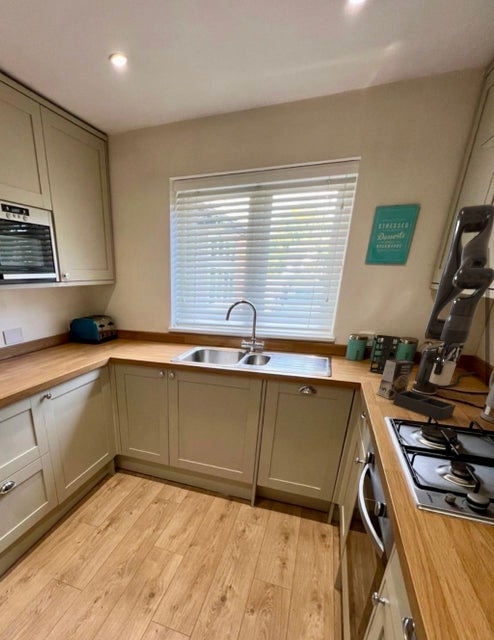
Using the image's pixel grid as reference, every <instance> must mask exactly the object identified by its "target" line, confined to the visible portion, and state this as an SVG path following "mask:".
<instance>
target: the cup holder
mask: <svg viewBox="0 0 494 640" xmlns="http://www.w3.org/2000/svg"><path fill="white" fill-rule="evenodd" d="M392 404H393V405H395V406H398V407H400V408H404V409H406V410H409V411H411V412H414V413H416V414H421V415H423V416H426V417H428V418H431V417H430V416H432V418H431V419H434V420H437V421H442V420H445V419H448V418H451V417H453V414H454V412H455V409H456V404H453V403H450V402H448V401H444V400H440V399H437V398H434V397H430V396H429V395H425V394H420V393H417V392H414V391H412V390H407V391H405V392H401V393H397V394H396V395H395V398H394V399H393V402H392Z"/></svg>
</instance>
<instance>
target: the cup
mask: <svg viewBox="0 0 494 640" xmlns="http://www.w3.org/2000/svg"><path fill="white" fill-rule="evenodd" d="M435 367H436V364H434V367H433V370H432V373H431V376H430V379H429V382H431V383H434V384H438V385H440V386H444V385H451V384H450V383H451V381H452V378H453V375H454V372H455V369H456V367H457V362H452V361H446V362H445V364H444V367H443V370H442V373H441V375H436V374H434V370H435Z"/></svg>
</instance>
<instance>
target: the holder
mask: <svg viewBox="0 0 494 640" xmlns="http://www.w3.org/2000/svg"><path fill="white" fill-rule="evenodd" d="M379 339H383V341H379ZM392 340H394V341H395V340H396V341H397V342H396V343H394V342H393V343H392ZM400 341H401V337H400V336H395V335H384V334H377V335H376V339H375V344H374V348H373V353H372V359H371V363H370V368H369V372H371V373H377V374H383V372H384V369H385V365H386V361H387V360H396V358H397V354H398V349H399V346H400ZM377 346H378V347H377ZM394 347H395V349H394ZM376 352H380V354H376ZM389 353H393V356H391V355H389ZM374 364H377V366H375V367H373V365H374Z"/></svg>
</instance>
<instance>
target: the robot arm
mask: <svg viewBox="0 0 494 640" xmlns="http://www.w3.org/2000/svg"><path fill="white" fill-rule="evenodd" d="M493 229H494V204H493V203H492V204H491V203H487V204H486V203H484V204H475V205H474V204H473V205H464V206H462V207H460V208H459V210H458V212H457V214H456V217H455V220H454V224H453V229H452V234H451V239H450V242H449V247H448V251H447V255H446V259H445V262H444V265H443V269H442V272H441V275H440V279H439V283H438V287H437V291H436V295H435V299H434V303H433V305H432V308H431V311H430V315H429V317H428V321H427V322H426V323H427V324H426V326H425V331H424V338H425V339H428V340H432V341H433V340H434V341H442V343H441V344H437V345H432V346H426V347H424V348H423V351H422V353H421V357H420V361H419V364H418V368H417V370H416V373H415V378H414V380H413V384H412V387H411V391H412V392H415V393H418V394H421V395H425V396H435V395H436V394H437V391H438V388H450V387H454V386H456V385H457V384H458V382H459V377H462V376H463V377H465V376H469V375H473V374H474V376H478V373H477V372H476V371H470V372H467V373H460V374H458V375H457V376H456V377H455V382H454V383H452V384H449V385H438V384H434V383H431V382H429V379H430V376H431V373H432V370H433V367H434V364H436V367H435V370H434V374H436V375H441V373H442V370H443V367H444V364H445V362H446V361H452V362H455V363H457V362H459V360H460V358H461V356H462V353H463V350H464V348H465V345H464V344H465V343H467V341H468V338H469V336H470V333H471V329H472V327H473V324H474V319H475V315H476V313H477V310H478V307H479V305H480V302H481V300H482V298H483V297H484V295H485V294H486V292H487V291H488V290H489V288H490V287H491V285H492V284H493V282H494V268H492V267H487V265H488V261H489V245H490V240H491V238H492V233H493ZM475 233H476V235H475V236H474V237H473V238H471V239H470V240H469V241H467V243H466V244H465V245H464V246H463V235H464V234H475ZM465 290H469V291H470V290H472V291H473V292H472V293H470V294H469V295H464V296H460V295H461V294H462V293H463V292H464V291H465ZM450 304H451V305H450ZM449 305H450V310H449V312H448V315H447V317H446V318H441V317H440V315H441V313H442V312H443V311H444V310H445V308H446V307H448V306H449Z"/></svg>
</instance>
